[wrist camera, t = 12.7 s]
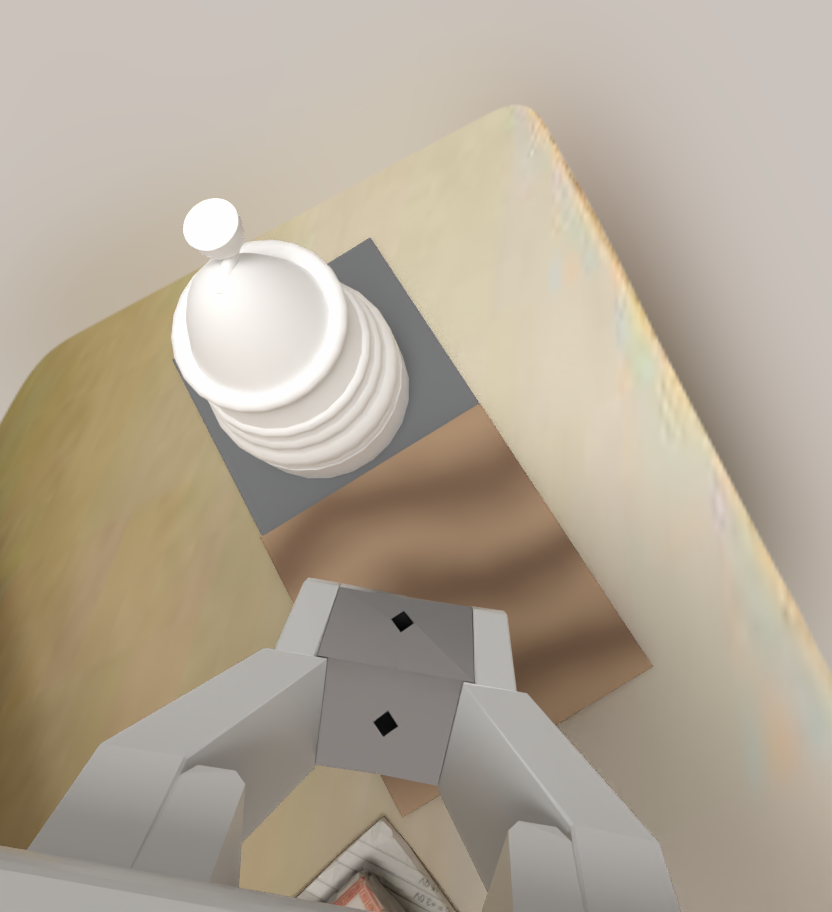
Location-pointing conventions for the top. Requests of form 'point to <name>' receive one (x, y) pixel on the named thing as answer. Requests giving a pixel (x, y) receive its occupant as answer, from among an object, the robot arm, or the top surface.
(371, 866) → the packaged product
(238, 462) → the trivet mat
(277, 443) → the honey pot
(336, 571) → the cutting board
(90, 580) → the top surface
